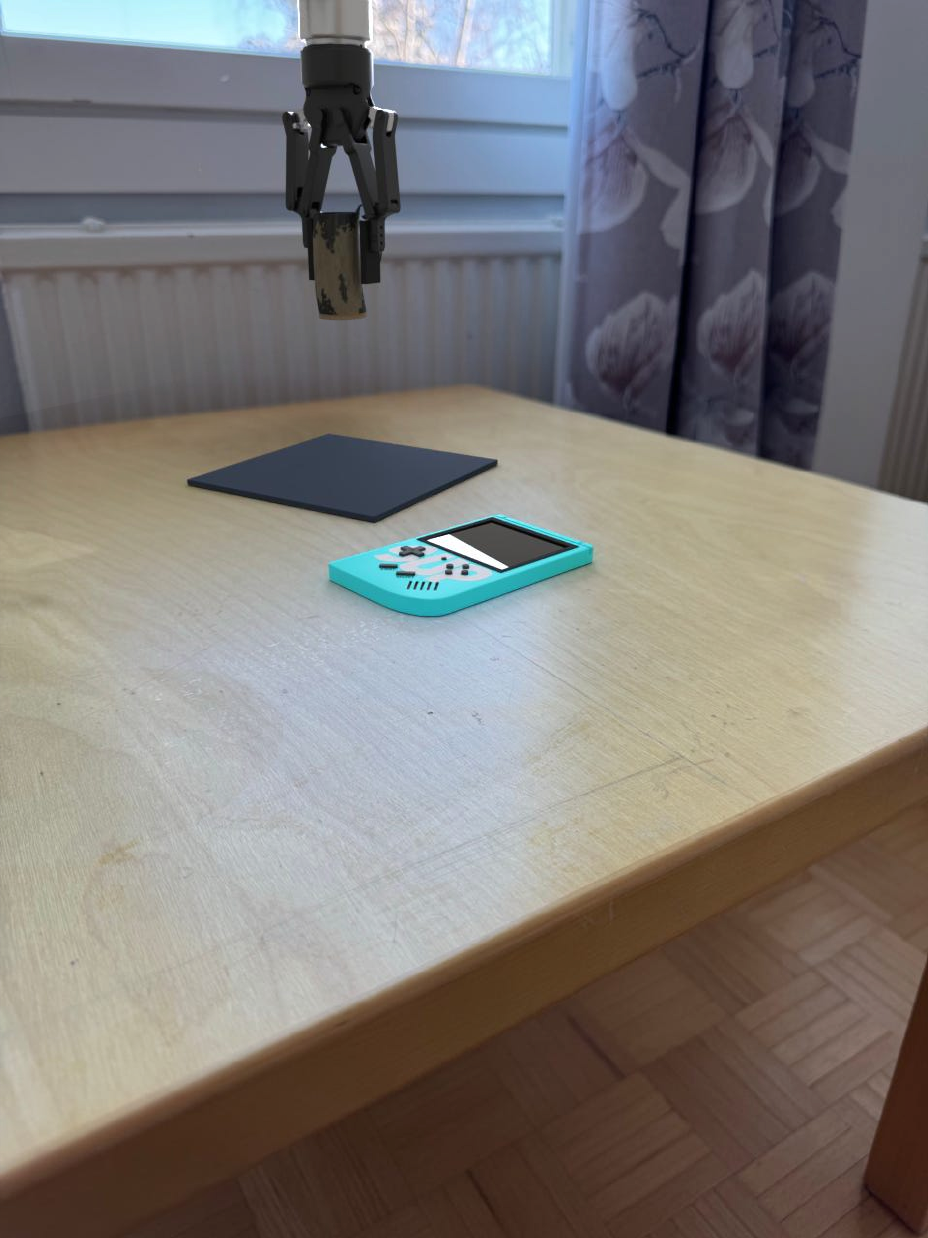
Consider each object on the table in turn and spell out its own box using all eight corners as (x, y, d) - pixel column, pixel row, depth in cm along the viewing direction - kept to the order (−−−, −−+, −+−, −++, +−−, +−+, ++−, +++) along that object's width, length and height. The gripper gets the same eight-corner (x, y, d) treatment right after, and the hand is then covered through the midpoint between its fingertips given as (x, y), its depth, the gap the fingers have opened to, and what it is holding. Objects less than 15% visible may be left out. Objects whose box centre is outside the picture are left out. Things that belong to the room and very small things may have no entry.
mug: (316, 320, 108) (308, 204, 103) (317, 314, 113) (310, 202, 108) (387, 318, 109) (382, 203, 103) (385, 312, 114) (381, 201, 108)
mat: (187, 484, 84) (186, 479, 84) (328, 437, 100) (328, 433, 100) (374, 522, 75) (374, 516, 75) (497, 464, 91) (497, 459, 90)
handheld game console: (324, 577, 64) (323, 558, 64) (496, 526, 74) (497, 509, 74) (421, 624, 58) (420, 603, 57) (596, 561, 67) (597, 542, 67)
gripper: (435, 45, 98) (435, 283, 107) (286, 54, 107) (298, 274, 116) (394, 35, 92) (397, 289, 102) (240, 46, 101) (256, 278, 110)
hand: (344, 280), depth 109 cm, fingers closed on mug, 6 cm apart
